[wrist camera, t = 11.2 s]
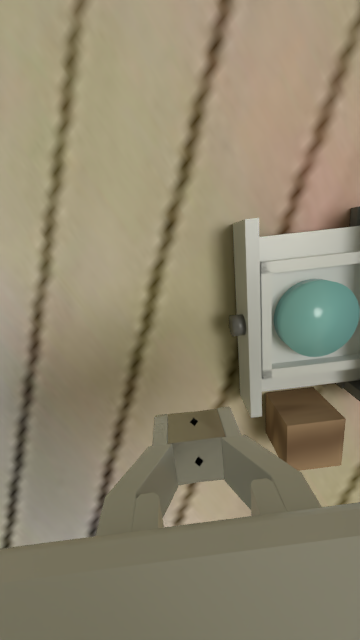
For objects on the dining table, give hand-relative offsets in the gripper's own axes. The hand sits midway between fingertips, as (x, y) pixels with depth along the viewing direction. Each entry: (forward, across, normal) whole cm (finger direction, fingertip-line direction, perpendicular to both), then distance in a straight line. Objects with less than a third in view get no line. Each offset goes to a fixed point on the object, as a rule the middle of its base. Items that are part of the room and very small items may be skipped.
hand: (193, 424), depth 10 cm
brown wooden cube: (+14, -11, +11) cm, 21 cm away
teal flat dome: (+12, -11, 0) cm, 17 cm away
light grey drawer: (+14, -13, 0) cm, 19 cm away
